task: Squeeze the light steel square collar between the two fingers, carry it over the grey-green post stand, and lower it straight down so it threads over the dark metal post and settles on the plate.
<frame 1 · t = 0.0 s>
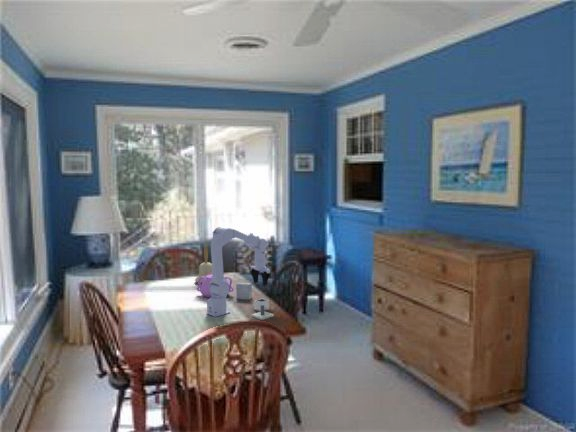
hand: (260, 284, 257), 10 cm above the table, tool pointing down, fingers open, 7 cm apart
teapot: (216, 294, 275), on the table
medicine box: (244, 298, 266), on the table
steel collar: (261, 309, 244), on the table
post stand: (262, 316, 233), on the table
handbell: (206, 282, 305), on the table
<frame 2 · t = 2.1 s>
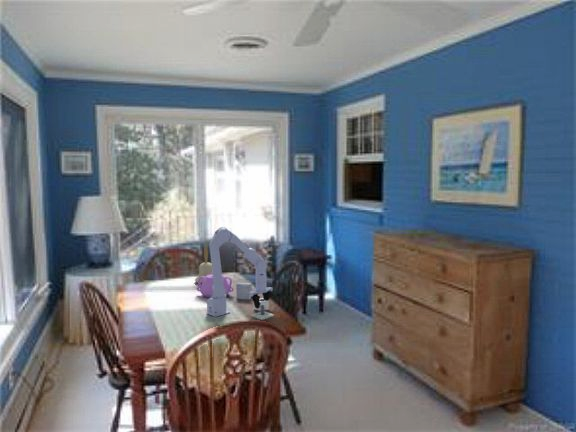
hand: (261, 306, 244), 1 cm above the table, tool pointing down, fingers closed on steel collar, 6 cm apart
steel collar: (261, 309, 244), on the table, touching gripper
everything else where it was.
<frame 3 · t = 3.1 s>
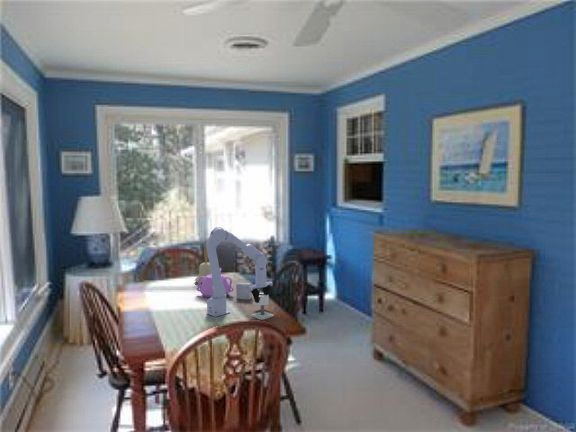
hand: (261, 301, 244), 4 cm above the table, tool pointing down, fingers closed on steel collar, 6 cm apart
steel collar: (261, 304, 244), point 3 cm above the table, touching gripper
everything else where it was.
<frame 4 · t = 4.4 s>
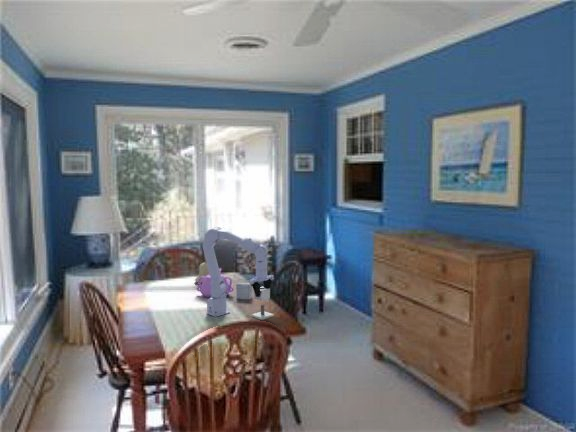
hand: (262, 295, 235), 10 cm above the table, tool pointing down, fingers closed on steel collar, 6 cm apart
steel collar: (262, 298, 235), point 8 cm above the table, touching gripper
everything else where it was.
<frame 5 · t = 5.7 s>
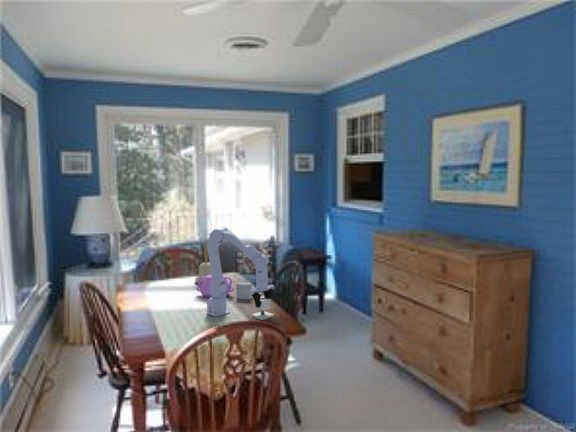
hand: (262, 305, 232), 5 cm above the table, tool pointing down, fingers closed on steel collar, 6 cm apart
steel collar: (262, 308, 233), point 4 cm above the table, touching gripper
everything else where it was.
when the fingers open (4 cm above the table, at t = 6.7 s): steel collar drops 1 cm, resting on post stand.
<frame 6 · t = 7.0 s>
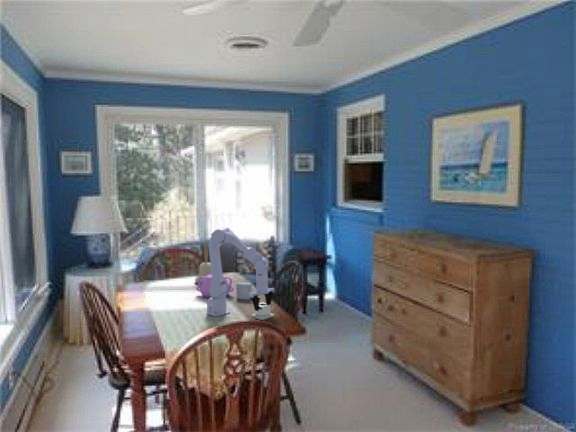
hand: (262, 308, 233), 4 cm above the table, tool pointing down, fingers open, 7 cm apart
steel collar: (262, 314, 233), point 1 cm above the table, touching post stand
everything else where it was.
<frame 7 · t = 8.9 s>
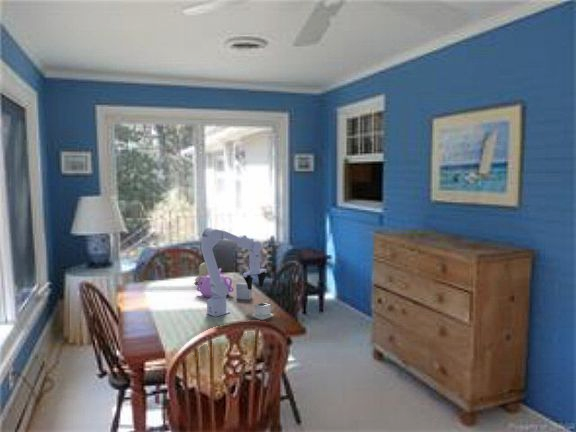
hand: (255, 287, 250), 10 cm above the table, tool pointing down, fingers open, 7 cm apart
nothing on the table moved.
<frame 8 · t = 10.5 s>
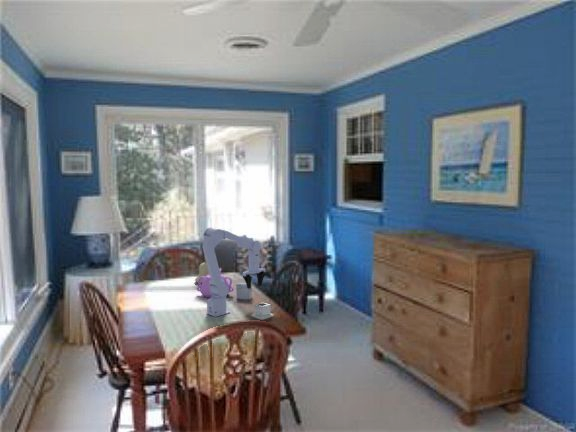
hand: (254, 286, 252), 10 cm above the table, tool pointing down, fingers open, 7 cm apart
nothing on the table moved.
at the end: steel collar 0.0 cm off-centre on the post stand, point 1.0 cm above the post stand's base; steel collar tilted 0°; the gripper is holding nothing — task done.
